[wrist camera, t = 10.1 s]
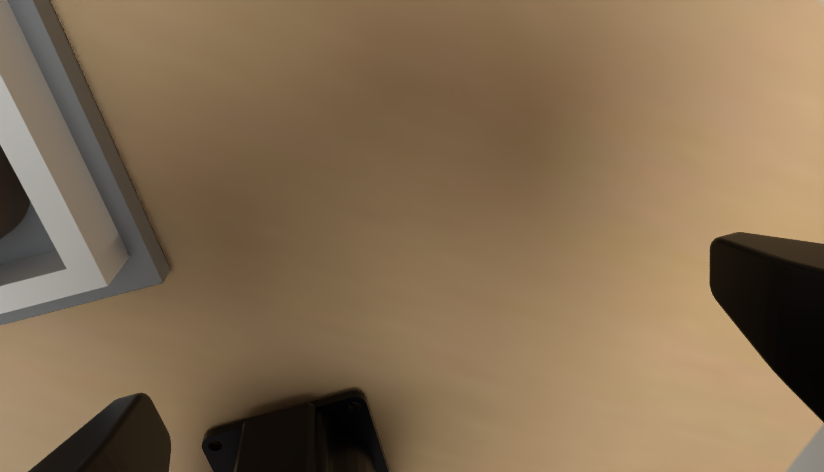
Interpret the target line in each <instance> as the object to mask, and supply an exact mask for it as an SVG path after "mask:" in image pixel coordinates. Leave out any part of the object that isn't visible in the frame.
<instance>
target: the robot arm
mask: <svg viewBox="0 0 824 472" xmlns="http://www.w3.org/2000/svg"><path fill="white" fill-rule="evenodd" d="M710 288H711V292H712V294H713V296H714V298H715V299H716V301H717V302H718V303H719V305H720V306H721V307H722V308H723V310H724V311H725V312H726V313H727V314H728V316H729V317H730V318H731V319H732V321H733V322H734V323H735V324H736V326H737V327H738V328H739V329H740V331H741V332H742V333H743V334H744V336H745V337H746V338H747V339H748V341H749V342H750V343H751V344H752V346H753V347H754V348H755V349H756V351H757V352H758V353H759V354H760V356H761V357H762V358H763V359H764V361H765V362H766V363H767V364H768V365H769V366H770V368H771V369H772V370H773V371H774V372H775V373H776V374H777V375H778V376H779V377H780V379H781V380H782V381H783V382H784V383H785V384H786V385H787V386H788V387H789V388H790V389H791V390H792V391H793V392H794V393H795V394H796V395H797V396H798V397H799V398H800V399H801V400H802V401H803V402H804V403H805V404H806V405H807V406H808V407H809V408H810V409H811V410H812V411H813V412H814V413H815V414H816V415H817V416H818V417H819V418H820V419H821V420H822V421H823V422H824V244H821V243H814V242H807V241H800V240H793V239H786V238H779V237H772V236H765V235H758V234H751V233H744V232H737V233H732V234H729V235H725V236H721V237H718V238H715V239H714V240H713V241H712V243H711V245H710ZM352 402H357V403H359V404H358V405H356V406H351V405H349V404H351V403H352ZM212 441H219V442H221V443H218V444H215V443H213V442H212ZM202 449H203V451H204V453H205V455H206V457H207V459H208V462H209V464H210V466H211V468H212V470H213V472H390V470H389V467H388V464H387V461H386V458H385V455H384V452H383V449H382V445H381V442H380V439H379V436H378V433H377V430H376V427H375V423H374V420H373V417H372V414H371V411H370V408H369V405H368V402H367V398H366V396H365V395H364V394H363V393H362V392H360V391H356V390H355V391H349V392H345V393H342V394H338V395H334V396H331V397H327V398H323V399H320V400H316V401H312V402H309V403H304V404H300V405H297V406H293V407H289V408H286V409H282V410H279V411H275V412H271V413H268V414H264V415H260V416H257V417H253V418H249V419H247V420H243V421H240V422H236V423H232V424H229V425H225V426H221V427H218V428H214V429H211V430H209V431H208V432H207V433H206V434H205V436H204V439H203V442H202ZM170 453H171V441H170V436H169V433H168V431H167V429H166V427H165V425H164V423H163V421H162V419H161V417H160V415H159V413H158V411H157V409H156V408H155V406H154V404H153V402H152V400H151V399H150V397H149V396H148V395H147V394H144V393H137V394H133V395H129V396H126V397H122V398H119V399H116V400H115V401H113V402H112V403H111V404H110V405H108V406H107V407H106V408H105V409H103V410H102V411H101V412H100V413H99V414H97V415H96V416H95V417H94V418H93V419H91V420H90V421H89V422H88V423H87V424H85V425H84V426H83V427H82V428H80V429H79V430H78V431H77V432H76V433H74V434H73V435H72V436H71V437H70V438H68V439H67V440H66V441H65V442H63V443H62V444H61V445H60V446H59V447H57V448H56V449H55V450H54V451H53V452H51V453H50V454H49V455H48V456H47V457H45V458H44V459H43V460H42V461H40V462H39V463H38V464H37V465H36V466H34V467H33V468H32V469H31V470H30V471H28V472H169V463H170Z"/></svg>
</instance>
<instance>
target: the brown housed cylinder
mask: <svg viewBox="0 0 824 472" xmlns="http://www.w3.org/2000/svg"><path fill="white" fill-rule="evenodd" d="M29 204H30V199H29V197H28V196H27V194H26V192H25V190H24V188H23V186H22V184H21V183H20V181H19V179H18V177H17V175H16V173H15V171H14V169H13V168H12V166H11V164H10V162H9V160H8V158H7V156H6V155H5V153H4V151H3V149H2V147H1V145H0V239H1V238H3V237H4V236H5V235H7V234H8V233H9V232H11V231H12V230H13V229H14V228H15V227H16V226H18V225H19V223H20V222H21V221H22V219H23V218H24V216H25V214H26V213H27V210H28V207H29Z"/></svg>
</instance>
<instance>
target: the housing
mask: <svg viewBox="0 0 824 472" xmlns="http://www.w3.org/2000/svg"><path fill="white" fill-rule="evenodd" d="M0 145H1V147H2V149H3V151H4V153H5V155H6V156H7V158H8V160H9V162H10V164H11V166H12V168H13V169H14V171H15V173H16V175H17V177H18V179H19V181H20V183H21V184H22V186H23V188H24V190H25V192H26V194H27V196H28V197H29V199H30V204H29V207H28V210H27V213H26V214H25V216H24V218H23V219H22V221H21V222H20V223H19V225H18V226H16V227H15V228H14V229H13V230H12V231H11V232H9V233H8V234H7V235H5V236H4V237H3V238H1V239H0V325H3V324H7V323H11V322H15V321H19V320H23V319H26V318H30V317H34V316H38V315H42V314H46V313H50V312H53V311H57V310H61V309H65V308H69V307H73V306H76V305H80V304H84V303H88V302H92V301H96V300H99V299H103V298H107V297H111V296H115V295H119V294H122V293H126V292H130V291H134V290H138V289H142V288H145V287H149V286H153V285H157V284H161V283H163V282H164V280H165V278H166V276H167V275H168V273H169V271H170V268H169V265H168V263H167V261H166V259H165V256H164V254H163V252H162V250H161V248H160V245H159V243H158V241H157V239H156V236H155V234H154V232H153V230H152V228H151V225H150V223H149V221H148V219H147V216H146V214H145V212H144V210H143V207H142V205H141V203H140V201H139V199H138V196H137V194H136V192H135V190H134V187H133V185H132V183H131V181H130V178H129V176H128V174H127V172H126V170H125V167H124V165H123V163H122V161H121V158H120V156H119V154H118V152H117V150H116V147H115V145H114V143H113V141H112V138H111V136H110V134H109V132H108V129H107V127H106V125H105V123H104V121H103V118H102V116H101V114H100V112H99V109H98V107H97V105H96V103H95V101H94V98H93V96H92V94H91V92H90V89H89V87H88V85H87V83H86V80H85V78H84V76H83V74H82V72H81V69H80V67H79V65H78V63H77V60H76V58H75V56H74V54H73V51H72V49H71V47H70V45H69V43H68V40H67V38H66V36H65V34H64V31H63V29H62V27H61V25H60V23H59V20H58V18H57V16H56V14H55V11H54V9H53V7H52V5H51V2H50V0H0Z"/></svg>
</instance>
